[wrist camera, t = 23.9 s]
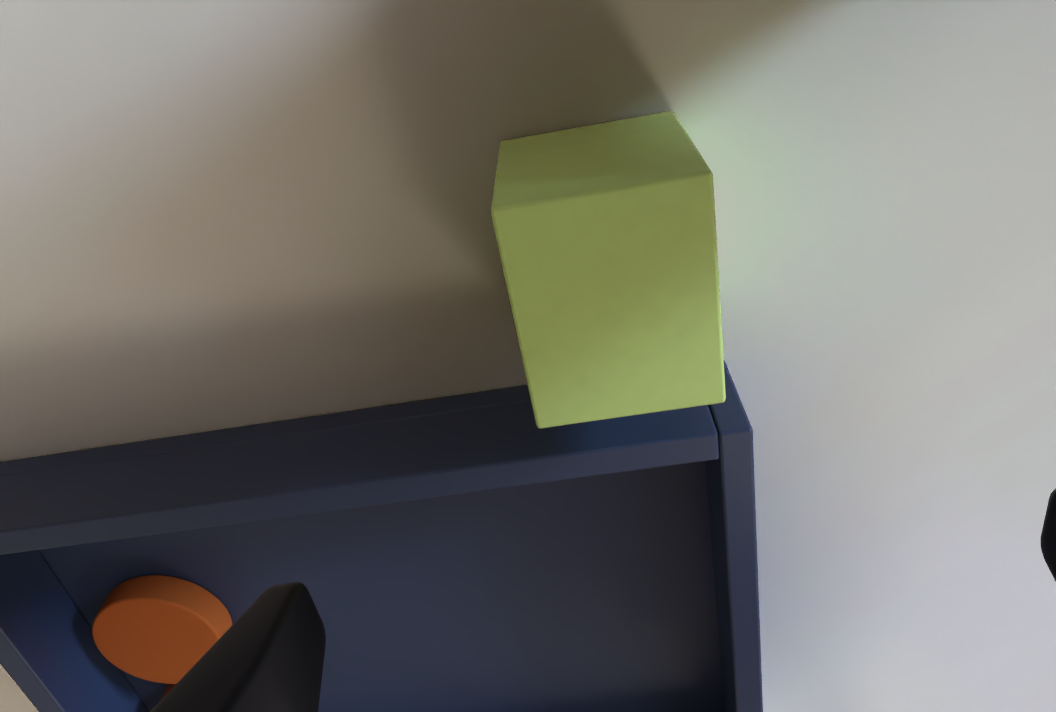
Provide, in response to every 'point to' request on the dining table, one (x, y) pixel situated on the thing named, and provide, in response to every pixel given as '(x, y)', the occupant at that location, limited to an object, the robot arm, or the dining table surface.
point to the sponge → (611, 269)
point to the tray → (414, 554)
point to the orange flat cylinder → (158, 626)
